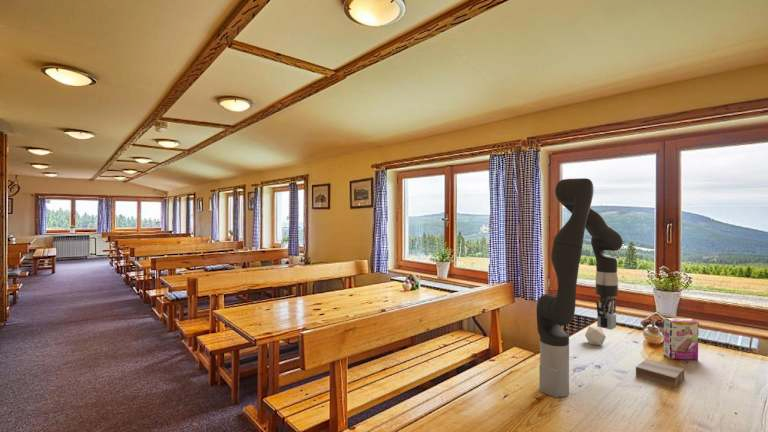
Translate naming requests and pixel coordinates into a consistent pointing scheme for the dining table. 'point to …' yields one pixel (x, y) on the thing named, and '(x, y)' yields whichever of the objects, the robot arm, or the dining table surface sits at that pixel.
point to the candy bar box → (680, 338)
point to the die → (595, 336)
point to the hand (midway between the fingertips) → (606, 325)
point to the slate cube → (608, 321)
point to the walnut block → (660, 373)
